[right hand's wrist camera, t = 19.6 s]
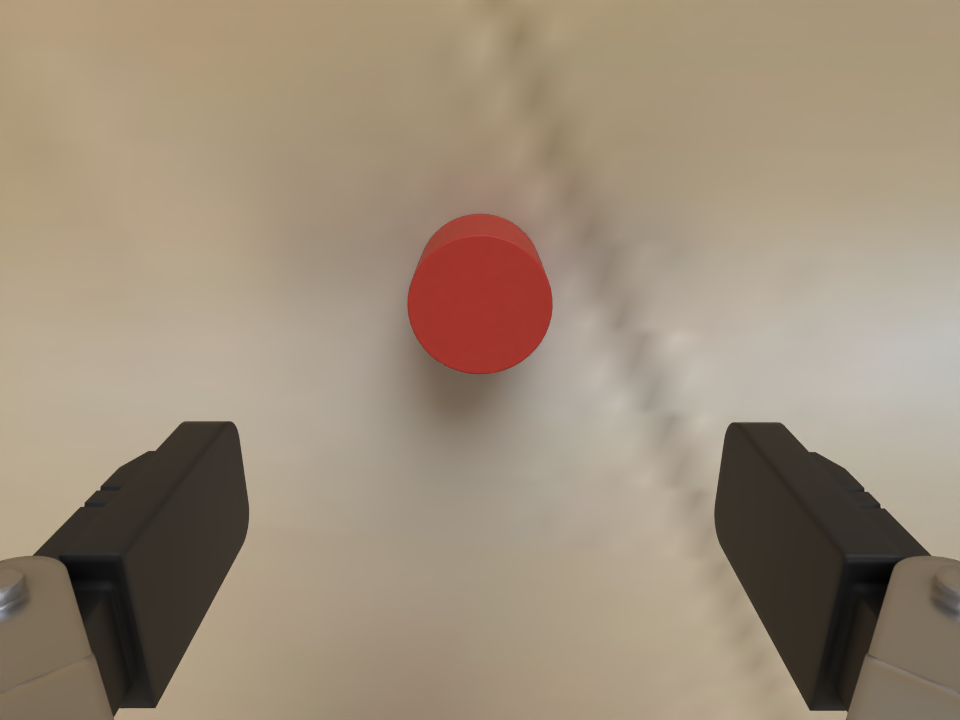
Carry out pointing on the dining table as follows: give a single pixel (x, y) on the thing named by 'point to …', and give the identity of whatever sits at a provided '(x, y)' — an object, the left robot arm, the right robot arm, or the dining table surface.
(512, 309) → the canister
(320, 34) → the dining table surface
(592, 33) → the dining table surface
